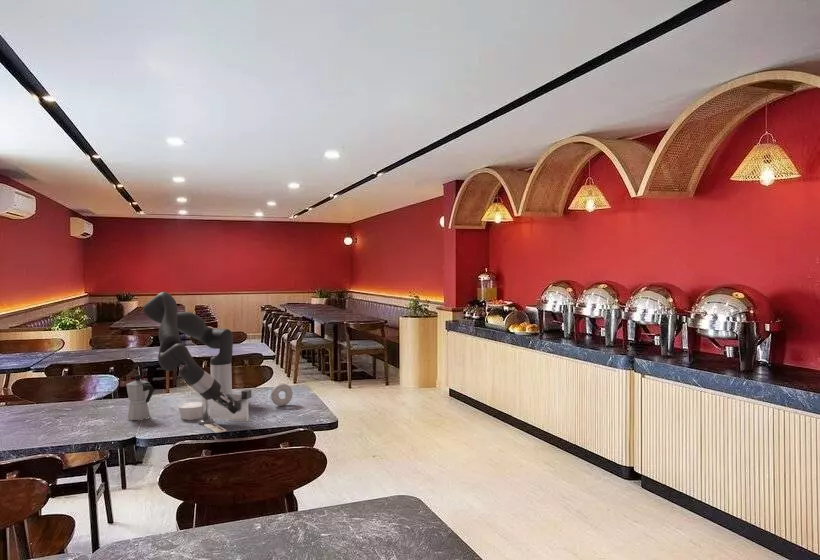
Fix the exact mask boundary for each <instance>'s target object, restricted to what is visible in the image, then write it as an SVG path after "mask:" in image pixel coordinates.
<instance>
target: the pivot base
mask: <svg viewBox="0 0 820 560" xmlns="http://www.w3.org/2000/svg"><path fill="white" fill-rule="evenodd" d="M211 423H215V419H211V418H210V417H209V419H208V420H202V418H200V419H197V424H198V425H201V424H203V426H204V424H211Z"/></svg>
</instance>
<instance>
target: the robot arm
mask: <svg viewBox="0 0 820 560" xmlns="http://www.w3.org/2000/svg"><path fill="white" fill-rule="evenodd" d="M142 309H143V310H142V311H143V312H144V314H145V315H146V316H147V317H148V318H149V319H150V320H152V321H154V322H156V323H158V324H160V325H159V330H158V339H159V344H160V346H159V351H158V355H157V356H158V357H157V361H158V363H159V364H158V365H160V367H161V368H162V370H164V371H166V372H171V371H174V370H176V369H177V368H178V367H179V366H181V365H182V364H183V363H185V364H184V365H183V366H182V368H181V369H180V372H179V376H180V377H181V378H182V379H183V380H184V381H185V382H187V384H188V385H189V386H191V388H192V389H193V390H194V391H195V392H197V393H198V394H199V395H200V396H201V398H202V397H203V398H205V399H206V400H208V401H210V399H212V400H213V401H215V402H217V403H218V404H219V405H221V406H223V407H224V408H227V409H228V410H229V411H230V412H231V413H233V414H235V413H236V412H237V410H238V409H237V408H236V407H235V406H233V404H234V403H233V402H232V400H231V398H230V397H227V396H226V395H225V394H233V387H232V386H233V385H232V384H233V383H232V382H233V380H232V379H233V378H232V375H233V374H232V358H233V348H234V346H233V345H234V338H233V337H234V336H233V332H232V331H231V330H230V329H229V328H213V327H209V326H207V325H206V322H205V320H204V319H203V317H200V316H199V315H197V314H195V313H193V312H190V311H179V312H178V304H177V302H176V299H175V298H174V297H173V296H172V295H171V294H170V293H168V292H166V291H162V292H160V293H158V294H157V295H155V296H154V297H152V298H151V299H150V300H149V301H147V302H146V303H145V304H144V305H143V308H142ZM179 332H181V333H182V334H184V335H186V336H189V337H190V338H193V339H195V340H198V341H200V342H201V343H202V344H204V345H205V346H206V347H208V348H209V349H214V350H215V349H216V350H217V349H218V350H219V351H218V354H217V355H214V356H212V357H210V362H209V364H210V373H208V372H207V371H205V370H204V369H203V368H202V367H201V366H200V365H199V364H198V363H197V362H196V360H195V359H194V358H193V356H192V355H191V352H190V351H189V349H188V347H187V346H186V345H184V344H183V343H182V341H181V337H180V333H179Z"/></svg>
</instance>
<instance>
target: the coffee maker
mask: <svg viewBox="0 0 820 560" xmlns="http://www.w3.org/2000/svg"><path fill="white" fill-rule="evenodd" d="M141 376H142V375H141V374H134V379H135V380H134V381H131V382H129V383H126V384H125V385H126V391H127V396H128V400H129V407H128V412H127V413H128V414H127V420H128V419H129V420H128V421H130V420H138V421H142V420H141V419H144V418H148V417H149V416H150V409H149V404H148V403H149V402H150V401H151V398H152V397H153V396H152V395H153V393H154V391H155V389H154V387H153V385H152V384H151V383H150V382H149V381H148V380H147V381H146V380H141ZM149 418H150V417H149ZM149 418H148V419H149ZM144 420H145V419H144Z"/></svg>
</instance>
